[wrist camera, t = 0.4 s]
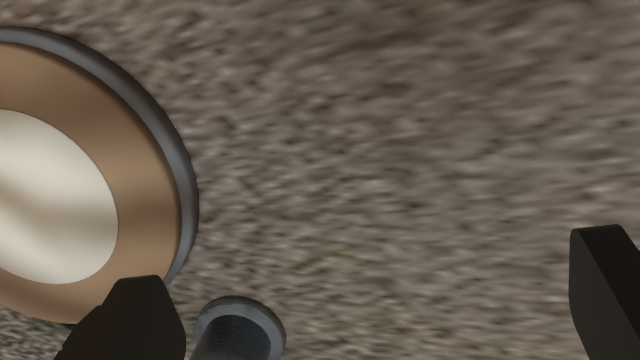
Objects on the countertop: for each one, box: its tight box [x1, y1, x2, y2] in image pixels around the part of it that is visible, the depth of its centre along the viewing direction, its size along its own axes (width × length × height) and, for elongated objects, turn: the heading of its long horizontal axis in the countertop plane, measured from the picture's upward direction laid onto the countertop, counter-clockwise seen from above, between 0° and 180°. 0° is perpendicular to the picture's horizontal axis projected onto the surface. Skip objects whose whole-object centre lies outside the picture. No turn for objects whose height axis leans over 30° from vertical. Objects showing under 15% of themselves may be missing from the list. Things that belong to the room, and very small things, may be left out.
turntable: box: [0, 26, 199, 324], centre depth 34 cm, size 20×20×3 cm
